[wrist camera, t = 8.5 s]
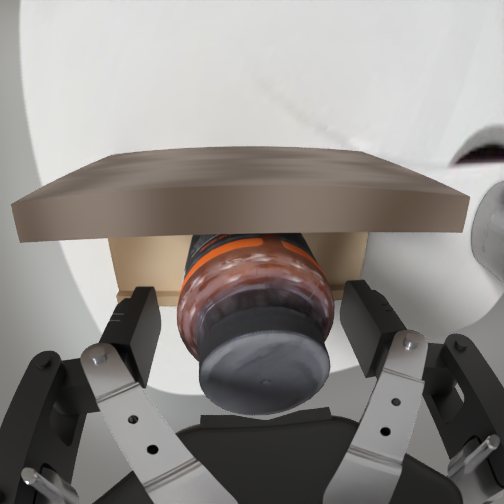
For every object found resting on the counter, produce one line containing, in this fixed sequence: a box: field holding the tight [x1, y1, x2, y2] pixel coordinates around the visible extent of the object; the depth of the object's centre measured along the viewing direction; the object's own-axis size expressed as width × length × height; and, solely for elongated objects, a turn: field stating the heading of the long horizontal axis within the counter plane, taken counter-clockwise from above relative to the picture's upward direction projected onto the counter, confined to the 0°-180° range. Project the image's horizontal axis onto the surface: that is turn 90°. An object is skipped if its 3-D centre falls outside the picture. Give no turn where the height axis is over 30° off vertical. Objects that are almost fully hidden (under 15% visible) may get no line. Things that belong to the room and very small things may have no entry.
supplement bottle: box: [177, 233, 335, 415], centre depth 13 cm, size 6×6×11 cm
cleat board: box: [11, 147, 470, 306], centre depth 16 cm, size 17×10×11 cm, turn 90°
